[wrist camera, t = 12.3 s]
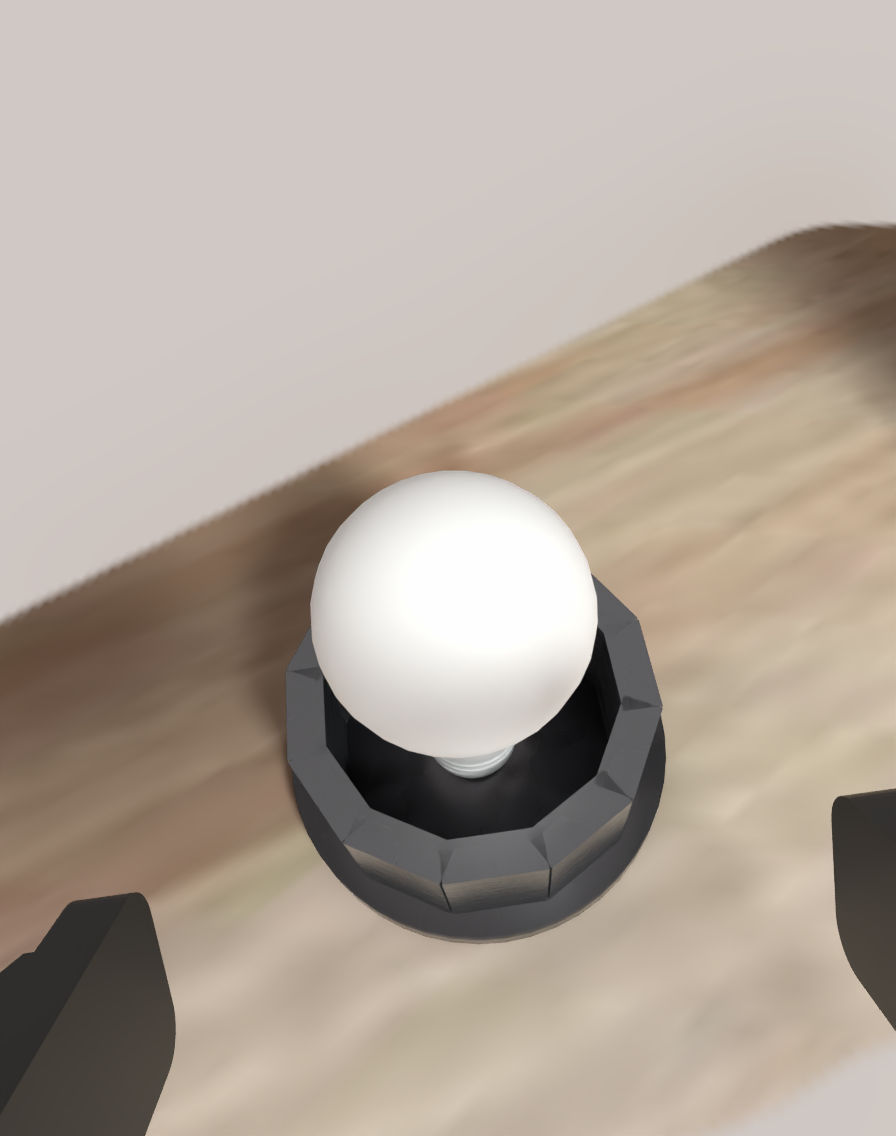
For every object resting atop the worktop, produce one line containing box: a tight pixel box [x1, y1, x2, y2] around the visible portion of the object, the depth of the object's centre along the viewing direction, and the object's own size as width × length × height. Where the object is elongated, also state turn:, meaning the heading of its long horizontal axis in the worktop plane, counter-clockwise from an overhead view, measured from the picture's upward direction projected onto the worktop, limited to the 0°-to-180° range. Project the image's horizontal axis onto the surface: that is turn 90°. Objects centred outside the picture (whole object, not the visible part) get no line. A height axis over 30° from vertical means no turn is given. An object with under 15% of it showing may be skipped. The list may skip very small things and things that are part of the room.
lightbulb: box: [310, 471, 598, 778], centre depth 20 cm, size 6×6×11 cm
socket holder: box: [286, 574, 666, 944], centre depth 24 cm, size 11×11×4 cm
